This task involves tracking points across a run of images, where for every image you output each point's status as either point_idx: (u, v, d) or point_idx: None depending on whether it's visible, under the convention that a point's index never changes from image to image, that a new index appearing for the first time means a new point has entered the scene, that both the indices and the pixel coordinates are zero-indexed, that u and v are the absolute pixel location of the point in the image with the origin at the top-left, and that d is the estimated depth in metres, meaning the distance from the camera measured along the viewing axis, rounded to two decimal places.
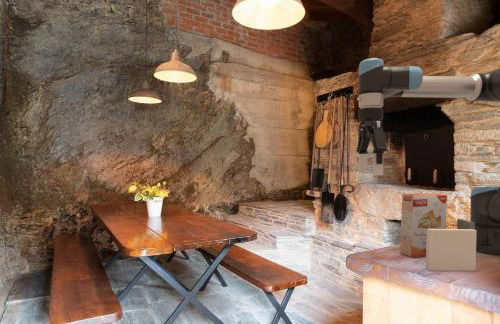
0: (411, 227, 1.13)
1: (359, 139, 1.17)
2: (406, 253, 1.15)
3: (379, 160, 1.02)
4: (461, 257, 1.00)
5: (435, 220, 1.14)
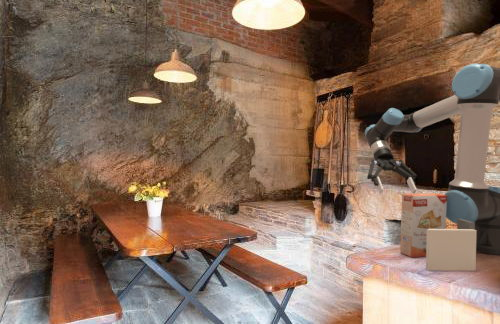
0: (411, 227, 1.13)
1: None
2: (406, 253, 1.15)
3: (374, 183, 1.37)
4: (461, 257, 1.00)
5: (435, 220, 1.14)
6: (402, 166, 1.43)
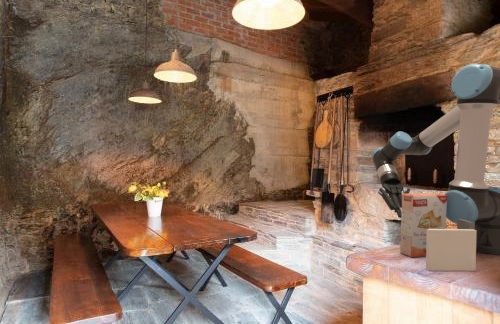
0: (411, 227, 1.13)
1: None
2: (406, 253, 1.15)
3: (397, 214, 1.32)
4: (461, 257, 1.00)
5: (435, 220, 1.14)
6: None
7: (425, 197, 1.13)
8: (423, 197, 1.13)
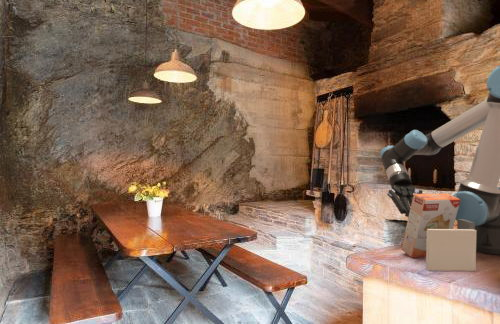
0: (417, 230, 1.10)
1: None
2: (407, 252, 1.14)
3: None
4: (461, 257, 1.00)
5: (443, 223, 1.11)
6: None
7: (437, 201, 1.08)
8: (435, 201, 1.08)
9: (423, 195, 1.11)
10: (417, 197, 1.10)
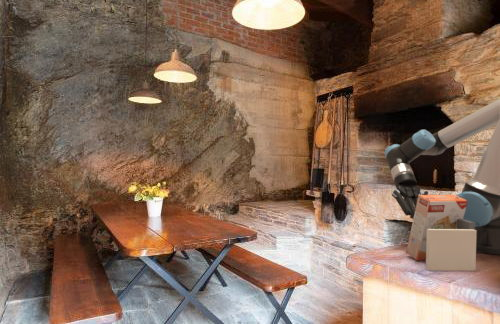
0: (422, 232, 1.07)
1: None
2: (412, 255, 1.11)
3: None
4: (461, 257, 1.00)
5: (450, 225, 1.07)
6: None
7: (443, 203, 1.05)
8: (441, 203, 1.04)
9: (428, 196, 1.07)
10: (422, 198, 1.07)
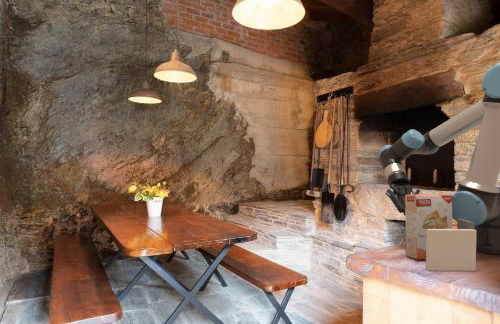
0: (415, 228, 1.09)
1: None
2: (412, 256, 1.11)
3: None
4: (461, 257, 1.00)
5: (441, 220, 1.11)
6: None
7: (428, 197, 1.10)
8: (426, 197, 1.10)
9: (414, 194, 1.14)
10: (408, 196, 1.13)
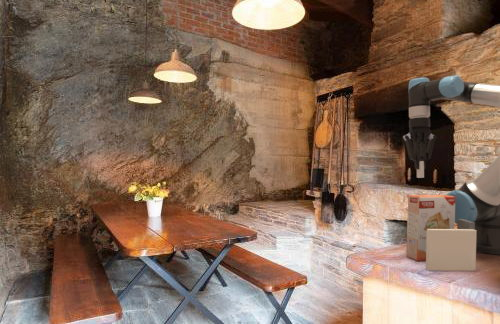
0: (417, 230, 1.09)
1: (427, 147, 1.35)
2: (412, 256, 1.11)
3: (415, 166, 1.34)
4: (461, 257, 1.00)
5: (443, 222, 1.10)
6: (430, 142, 1.34)
7: (432, 199, 1.09)
8: (430, 199, 1.09)
9: (417, 195, 1.12)
10: (412, 197, 1.11)
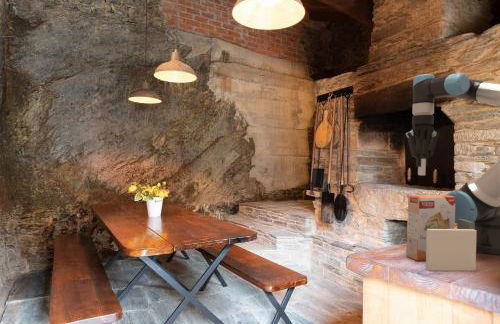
0: (417, 230, 1.09)
1: None
2: (412, 256, 1.11)
3: (416, 163, 1.33)
4: (461, 257, 1.00)
5: (443, 222, 1.10)
6: (433, 139, 1.33)
7: (432, 199, 1.09)
8: (430, 199, 1.09)
9: (418, 195, 1.12)
10: (412, 197, 1.11)
